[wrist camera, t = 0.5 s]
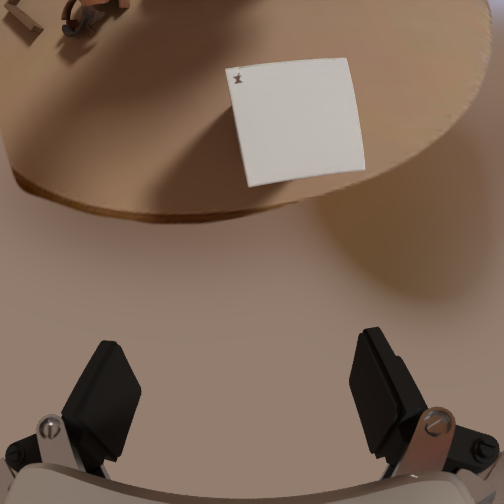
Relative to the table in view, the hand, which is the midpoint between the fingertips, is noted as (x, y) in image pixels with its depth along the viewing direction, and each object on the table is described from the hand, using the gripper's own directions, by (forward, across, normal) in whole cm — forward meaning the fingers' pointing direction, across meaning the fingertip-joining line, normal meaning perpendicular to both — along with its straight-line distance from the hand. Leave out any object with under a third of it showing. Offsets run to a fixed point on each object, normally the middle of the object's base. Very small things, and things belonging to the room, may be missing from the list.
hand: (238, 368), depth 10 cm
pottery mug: (+29, +20, -34) cm, 49 cm away
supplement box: (+29, -4, -9) cm, 31 cm away
